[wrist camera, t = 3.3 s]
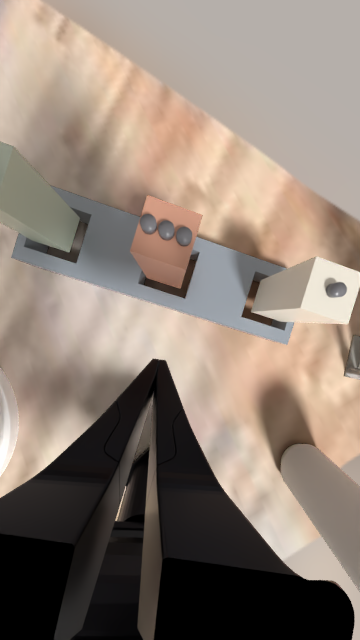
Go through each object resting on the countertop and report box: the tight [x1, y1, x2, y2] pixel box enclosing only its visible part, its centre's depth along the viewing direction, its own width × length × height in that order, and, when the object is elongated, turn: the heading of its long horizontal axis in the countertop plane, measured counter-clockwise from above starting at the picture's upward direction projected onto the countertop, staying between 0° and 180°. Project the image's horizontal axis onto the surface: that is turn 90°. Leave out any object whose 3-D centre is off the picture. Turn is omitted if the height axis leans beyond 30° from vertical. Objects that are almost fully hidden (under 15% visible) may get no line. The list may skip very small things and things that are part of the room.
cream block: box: [251, 256, 360, 324], centre depth 14 cm, size 4×4×8 cm
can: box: [281, 444, 360, 592], centre depth 16 cm, size 8×8×12 cm
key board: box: [11, 185, 294, 345], centre depth 19 cm, size 38×10×3 cm, turn 73°
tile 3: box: [130, 195, 203, 289], centre depth 14 cm, size 4×4×8 cm
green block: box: [0, 142, 80, 253], centre depth 13 cm, size 4×4×8 cm
